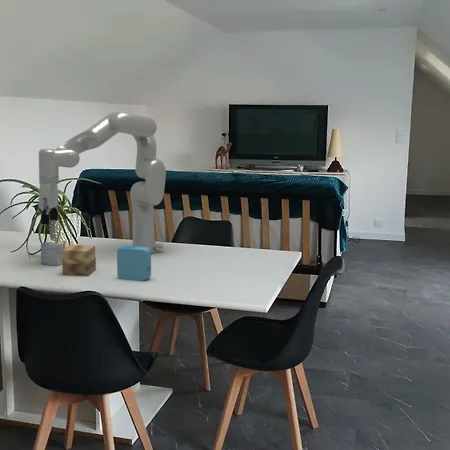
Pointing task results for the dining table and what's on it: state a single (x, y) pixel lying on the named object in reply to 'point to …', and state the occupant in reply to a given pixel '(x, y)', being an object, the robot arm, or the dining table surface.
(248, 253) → the dining table surface
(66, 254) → the upper block
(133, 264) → the data package
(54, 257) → the medicine box
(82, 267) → the lower block
